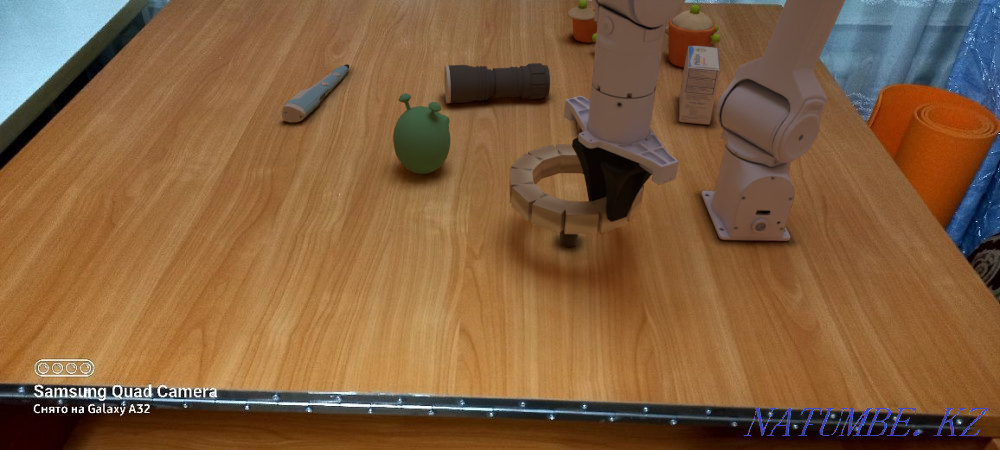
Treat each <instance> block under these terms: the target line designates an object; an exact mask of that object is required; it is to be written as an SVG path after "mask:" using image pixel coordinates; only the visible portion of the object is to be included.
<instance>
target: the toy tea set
mask: <svg viewBox="0 0 1000 450" xmlns="http://www.w3.org/2000/svg"><path fill="white" fill-rule="evenodd" d="M577 5H578V6H575V7H572V8H571V9H569V10H568V11H567V13H566V15H567V17H568V18H570V19H571V21H572V22H571V23H572V35H573V38H574V40H576V41H578V42H581V43H586V44H587V43H588V44H591V43H595V44H596V36H597V26H598V25H597V23H596V21H594V16H595V8H590V7H588V1H586V0H579V1H578V3H577ZM718 31H719V26H718V24H717V23H716V24H715V22H714V21H713V20H712V19H711V18H710V17H709V16H708V15H707V14H706V13H704V12H702V11H701V8H700V6H699V5H698V4H692V5H691V6H690V9H689V10H684V11H682V12H679V13H678V14H677V15H676V17H674V18H673V19H670V20H669V21H668V25H666V29H665V34H666V35H668V61H669V62H670V63H671V64H672V65H674V66H676V67H678V68H683V69H684V66H685V60H686V54H687V49H688V46H704V47H711V44H712V43H713V44H719V43H720V42H721V39H722V37H721V35H720V34H718V33H717V32H718Z"/></svg>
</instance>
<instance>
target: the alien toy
mask: <svg viewBox="0 0 1000 450" xmlns="http://www.w3.org/2000/svg"><path fill="white" fill-rule="evenodd" d="M411 98H412V95H411V94H410V93H401V94H400V96H399V97H398V102H401V103H404V105H405V108H406V110H405V111H404V112H403V113H402V114H401V115H400V116H399V117H398V119H397V121H396V123H395V125H394V130H393V134H392V141H393V142H392V143H393V149H394V152H395V155H396V157H397V159H398V161H399V162H400V163H401V165H402V166H403V167H404V168H405V169H406V170H408V171H410V172H412V173H415V174H419V175H423V174H424V175H425V174H430V173H433V172H435V171H437V170H438V169H439V168H440V167H442V165H443V164H444V163H445V162H446V160H447V158H448V156H449V152H450V149H451V133H450V117H449V116H447V115H445V114H442V113H441V112H440V111H441V110H442V105H441V104H439V103H438V102H437V101H432V102H429V103H428V106H425V105H424V106H423V105H418V106H413V107H411V105H410V103H409V102H410V100H411Z"/></svg>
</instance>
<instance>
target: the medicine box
mask: <svg viewBox="0 0 1000 450" xmlns="http://www.w3.org/2000/svg"><path fill="white" fill-rule="evenodd" d="M719 52H720V51H719V48H717V47H711V46H709V47H704V46H688V49H687V54H686V60H685V66H684V68H683V73H682V78H681V84H680V89H679V98H678V100H679V101H678V113H679V114H678V115H679V116H678V122H679V123H685V124H696V125H703V126H704V125H706V126H709V125H710V124H711V122H712V121H711V120H712V114H713V110H714V103H715V99H716V98H715V97H716V93H717V89H718V83H719V79H720V72H721V65H720V64H721V63H720V53H719Z"/></svg>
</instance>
